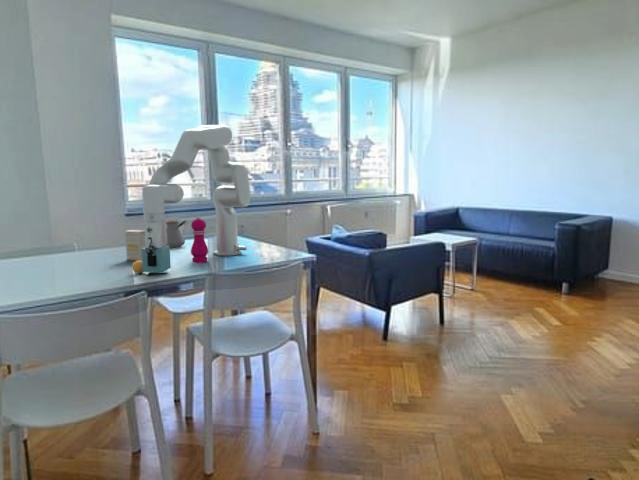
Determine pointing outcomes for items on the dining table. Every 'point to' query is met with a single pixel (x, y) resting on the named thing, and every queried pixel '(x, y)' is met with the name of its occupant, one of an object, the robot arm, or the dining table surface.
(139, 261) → the ball
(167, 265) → the teal square block
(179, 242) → the coffee pot
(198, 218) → the pepper mill
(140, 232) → the supplement box
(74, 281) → the dining table surface
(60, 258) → the dining table surface
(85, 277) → the dining table surface
